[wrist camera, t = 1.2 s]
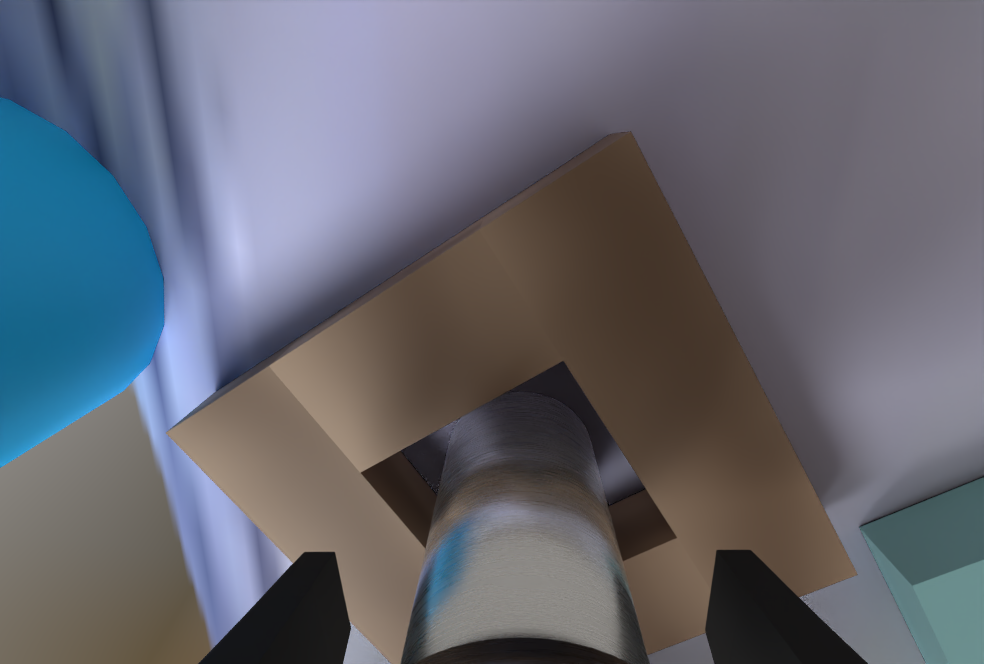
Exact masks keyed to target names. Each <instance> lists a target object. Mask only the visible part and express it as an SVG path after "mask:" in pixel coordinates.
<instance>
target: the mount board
mask: <svg viewBox="0 0 984 664" xmlns="http://www.w3.org/2000/svg"><path fill="white" fill-rule="evenodd" d="M562 361H564V363H565V364H566V366H567V367H568V369H569V370H570V372H571V373H572V375H573V376H574V378H575V380H576V381H577V383H578V384H579V386H580V387H581V389H582V390H583V392H584V394H585V395H586V397H587V398H588V400H589V401H590V403H591V404H592V406H593V408H594V409H595V411H596V412H597V414H598V415H599V417H600V418H601V420H602V422H603V423H604V425H605V426H606V428H607V429H608V431H609V432H610V434H611V436H612V437H613V439H614V440H615V442H616V443H617V445H618V446H619V448H620V450H621V451H622V453H623V454H624V456H625V457H626V459H627V460H628V462H629V463H630V465H631V467H632V468H633V470H634V471H635V473H636V474H637V476H638V477H639V479H640V481H641V482H642V484H643V485H644V487H645V488H646V489H645V490H643V491H641V492H639V493H636V494H634V495H632V496H630V497H628V498H626V499H624V500H621V501H619V502H617V503H615V504H613V505H611V506H609V507H608V508H609V511H610V515H611V519H612V523H613V527H614V530H615V534H616V538H617V542H618V546H619V550H620V553H621V557H622V561H623V565H624V569H625V572H626V576H627V580H628V584H629V588H630V592H631V595H632V599H633V603H634V607H635V611H636V614H637V618H638V622H639V626H640V630H641V634H642V637H643V641H644V645H645V649H646V653H647V655H649V654H652V653H654V652H657V651H659V650H662V649H665V648H667V647H670V646H673V645H675V644H678V643H680V642H683V641H686V640H688V639H691V638H693V637H696V636H699V635H701V634H704V633H706V632H705V626H706V619H707V612H708V605H709V598H710V592H711V585H712V578H713V571H714V564H715V557H716V550H751V551H752V552H753V553H755V554H756V555H757V556H758V557H759V558H760V559H761V560H762V561H763V562H764V563H765V564H766V565H767V566H768V567H769V568H770V569H771V570H772V571H773V572H774V573H775V574H776V575H777V576H778V577H779V578H780V579H781V580H782V581H783V582H784V583H785V584H786V585H787V586H788V587H789V588H790V589H791V590H792V591H793V592H794V593H795V594H796V595H797V596H798V597H801V596H803V595H806V594H809V593H811V592H814V591H816V590H819V589H822V588H824V587H827V586H830V585H832V584H835V583H837V582H840V581H843V580H845V579H848V578H850V577H853V576H856V575H858V574H857V572H856V570H855V568H854V567H853V565H852V563H851V561H850V559H849V557H848V555H847V553H846V551H845V549H844V547H843V545H842V543H841V541H840V539H839V537H838V535H837V533H836V531H835V529H834V527H833V525H832V524H831V522H830V520H829V518H828V516H827V514H826V512H825V510H824V508H823V506H822V504H821V502H820V500H819V498H818V496H817V494H816V492H815V490H814V488H813V486H812V484H811V482H810V481H809V479H808V477H807V475H806V473H805V471H804V469H803V467H802V465H801V463H800V461H799V459H798V457H797V455H796V453H795V451H794V449H793V447H792V445H791V443H790V441H789V439H788V438H787V436H786V434H785V432H784V430H783V428H782V426H781V424H780V422H779V420H778V418H777V416H776V414H775V412H774V410H773V408H772V406H771V404H770V402H769V400H768V398H767V396H766V395H765V393H764V391H763V389H762V387H761V385H760V383H759V381H758V379H757V377H756V375H755V373H754V371H753V369H752V367H751V365H750V363H749V361H748V359H747V357H746V355H745V353H744V352H743V350H742V348H741V346H740V344H739V342H738V340H737V338H736V336H735V334H734V332H733V330H732V328H731V326H730V324H729V322H728V320H727V318H726V316H725V314H724V312H723V310H722V308H721V307H720V305H719V303H718V301H717V299H716V297H715V295H714V293H713V291H712V289H711V287H710V285H709V283H708V281H707V279H706V277H705V275H704V273H703V271H702V269H701V267H700V265H699V264H698V262H697V260H696V258H695V256H694V254H693V252H692V250H691V248H690V246H689V244H688V242H687V240H686V238H685V236H684V234H683V232H682V230H681V228H680V226H679V224H678V222H677V221H676V219H675V217H674V215H673V213H672V211H671V209H670V207H669V205H668V203H667V201H666V199H665V197H664V195H663V193H662V191H661V189H660V187H659V185H658V183H657V181H656V179H655V178H654V176H653V174H652V172H651V170H650V168H649V166H648V164H647V162H646V160H645V158H644V156H643V154H642V152H641V150H640V148H639V146H638V144H637V142H636V140H635V138H634V136H633V135H632V133H631V131H630V132H622V133H614V134H610V135H608V136H606V137H605V138H603V139H602V140H600V141H599V142H597V143H596V144H594V145H593V146H591V147H590V148H588V149H587V150H585V151H584V152H582V153H580V154H579V155H577V156H576V157H574V158H573V159H571V160H570V161H568V162H567V163H565V164H564V165H562V166H561V167H559V168H558V169H556V170H554V171H553V172H551V173H550V174H548V175H547V176H545V177H544V178H542V179H541V180H539V181H538V182H536V183H535V184H533V185H532V186H530V187H528V188H527V189H525V190H524V191H522V192H521V193H519V194H518V195H516V196H515V197H513V198H512V199H510V200H509V201H507V202H505V203H504V204H502V205H501V206H499V207H498V208H496V209H495V210H493V211H492V212H490V213H489V214H487V215H486V216H484V217H483V218H481V219H479V220H478V221H476V222H475V223H473V224H472V225H470V226H469V227H467V228H466V229H464V230H463V231H461V232H460V233H458V234H457V235H455V236H453V237H452V238H450V239H449V240H447V241H446V242H444V243H443V244H441V245H440V246H438V247H437V248H435V249H434V250H432V251H431V252H429V253H427V254H426V255H424V256H423V257H421V258H420V259H418V260H417V261H415V262H414V263H412V264H411V265H409V266H408V267H406V268H404V269H403V270H401V271H400V272H398V273H397V274H395V275H394V276H392V277H391V278H389V279H388V280H386V281H385V282H383V283H382V284H380V285H378V286H377V287H375V288H374V289H372V290H371V291H369V292H368V293H366V294H365V295H363V296H362V297H360V298H359V299H357V300H356V301H354V302H352V303H351V304H349V305H348V306H346V307H345V308H343V309H342V310H340V311H339V312H337V313H336V314H334V315H333V316H331V317H330V318H328V319H326V320H325V321H323V322H322V323H320V324H319V325H317V326H316V327H314V328H313V329H311V330H310V331H308V332H307V333H305V334H303V335H302V336H300V337H299V338H297V339H296V340H294V341H293V342H291V343H290V344H288V345H287V346H285V347H284V348H282V349H281V350H279V351H277V352H276V353H274V354H273V355H271V356H270V357H268V358H267V359H265V360H264V361H262V362H261V363H259V364H258V365H256V366H255V367H253V368H251V369H250V370H248V371H247V372H245V373H244V374H242V375H241V376H239V377H238V378H236V379H235V380H233V381H232V382H230V383H229V384H227V385H225V386H224V387H222V388H221V389H219V390H218V391H216V392H215V393H213V394H212V395H211V396H210V397H209V398H207V399H206V400H205V401H204V402H203V403H201V404H200V405H199V406H198V407H196V408H195V409H194V410H193V411H192V412H190V413H189V414H188V415H187V416H186V417H184V418H183V419H182V420H181V421H179V422H178V423H177V424H176V425H175V426H173V427H172V428H171V429H170V430H169V431H167V432H166V434H167V435H168V436H169V437H170V438H171V439H172V440H173V441H174V442H175V443H176V444H177V445H178V446H179V447H180V448H181V449H182V450H183V451H184V452H185V453H186V454H187V455H188V456H189V457H190V458H191V459H192V460H193V461H194V462H195V463H196V464H197V465H198V466H199V467H200V468H201V470H202V471H203V472H204V473H205V474H206V475H207V476H208V477H209V478H210V479H211V480H212V481H213V482H214V483H215V484H216V485H217V486H218V487H219V488H220V489H221V490H222V491H223V492H224V493H225V494H226V495H227V496H228V497H229V498H230V499H231V500H232V501H233V502H234V503H235V504H236V505H237V506H238V507H239V508H240V509H241V510H242V511H243V512H244V513H245V514H246V516H247V517H248V518H249V519H250V520H251V521H252V522H253V523H254V524H255V525H256V526H257V527H258V528H259V529H260V530H261V531H262V532H263V533H264V534H265V535H266V536H267V537H268V538H269V539H270V540H271V541H272V542H273V543H274V544H275V545H276V546H277V547H278V548H279V549H280V550H281V551H282V552H283V553H284V554H285V555H286V556H287V557H288V558H289V559H290V560H291V562H292V563H294V562H295V561H296V560H297V559H298V558H299V557H300V556H301V555H302V554H303V553H304V552H335V554H336V559H337V564H338V569H339V573H340V578H341V583H342V588H343V592H344V597H345V602H346V607H347V612H348V616H349V621H350V622H351V623H352V624H353V625H354V626H355V627H356V628H357V629H358V630H359V631H360V632H361V633H362V634H363V635H364V636H365V637H366V638H367V639H368V640H369V641H370V642H371V643H372V644H373V645H374V646H375V647H376V648H377V649H378V650H379V651H380V652H381V654H382V655H383V656H384V657H385V658H386V659H387V660H388V661H389V662H390V663H391V664H400V663H401V658H402V654H403V649H404V645H405V640H406V636H407V631H408V626H409V622H410V617H411V613H412V608H413V604H414V599H415V595H416V590H417V585H418V581H419V576H420V572H421V567H422V563H423V558H424V554H425V549H426V544H427V540H428V535H429V531H430V526H431V522H432V517H433V513H434V508H435V503H436V499H437V495H436V494H435V493H434V492H433V490H432V489H431V488H430V487H429V485H428V484H427V483H426V482H425V481H424V479H423V478H422V477H421V476H420V474H419V473H418V472H417V471H416V469H415V468H414V467H413V466H412V465H411V463H410V462H409V461H408V460H407V458H406V457H405V456H404V455H403V453H402V452H401V450H402V449H404V448H406V447H408V446H410V445H412V444H413V443H415V442H417V441H419V440H421V439H422V438H424V437H426V436H428V435H430V434H431V433H433V432H435V431H437V430H439V429H441V428H442V427H444V426H446V425H448V424H450V423H451V422H453V421H455V420H457V419H459V418H460V417H462V416H464V415H466V414H468V413H470V412H471V411H473V410H475V409H477V408H479V407H480V406H482V405H484V404H486V403H488V402H489V401H491V400H493V399H495V398H497V397H499V396H500V395H502V394H504V393H506V392H508V391H509V390H511V389H513V388H515V387H517V386H518V385H520V384H522V383H524V382H526V381H528V380H529V379H531V378H533V377H535V376H537V375H538V374H540V373H542V372H544V371H546V370H547V369H549V368H551V367H553V366H555V365H557V364H558V363H560V362H562Z"/></svg>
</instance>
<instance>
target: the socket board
mask: <svg viewBox="0 0 984 664" xmlns="http://www.w3.org/2000/svg"><path fill="white" fill-rule="evenodd" d="M859 528H860V530H861V532H862V534H863V536H864V538H865V540H866V542H867V544H868V546H869V548H870V550H871V552H872V554H873V556H874V558H875V561H876V563H877V565H878V567H879V569H880V571H881V573H882V575H883V577H884V579H885V581H886V583H887V585H888V587H889V589H890V591H891V593H892V595H893V597H894V599H895V601H896V603H897V605H898V607H899V609H900V611H901V613H902V616H903V618H904V620H905V622H906V624H907V626H908V628H909V630H910V632H911V634H912V636H913V638H914V640H915V642H916V644H917V646H918V648H919V650H920V652H921V654H922V656H923V658H924V660H925V662H926V664H984V477H983V478H980V479H978V480H975V481H973V482H970V483H968V484H965V485H963V486H960V487H958V488H955V489H953V490H951V491H948V492H946V493H943V494H941V495H938V496H936V497H933V498H931V499H928V500H926V501H923V502H921V503H918V504H916V505H913V506H911V507H908V508H906V509H903V510H901V511H898V512H896V513H894V514H891V515H889V516H886V517H884V518H881V519H879V520H876V521H874V522H871V523H869V524H866V525H864V526H861V527H859Z"/></svg>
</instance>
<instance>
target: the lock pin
mask: <svg viewBox="0 0 984 664" xmlns="http://www.w3.org/2000/svg"><path fill="white" fill-rule="evenodd" d="M400 664H649V660H648V656H647V653H646V649H645V645H644V641H643V637H642V634H641V630H640V626H639V622H638V618H637V614H636V611H635V607H634V603H633V599H632V595H631V592H630V588H629V584H628V580H627V576H626V572H625V569H624V565H623V561H622V557H621V553H620V550H619V546H618V542H617V538H616V534H615V530H614V527H613V523H612V519H611V515H610V511H609V508H608V504H607V500H606V496H605V492H604V488H603V485H602V481H601V477H600V473H599V469H598V466H597V462H596V458H595V454H594V450H593V446H592V443H591V439H590V436H589V433H588V431H587V429H586V427H585V425H584V424H583V422H582V421H581V420H580V418H579V417H578V416H577V415H576V414H575V413H574V412H573V411H572V410H571V409H570V408H568V407H567V406H566V405H564V404H563V403H561V402H559V401H557V400H555V399H553V398H551V397H548V396H545V395H542V394H538V393H532V392H507V393H504V394H502V395H500V396H499V397H497V398H495V399H493V400H491V401H489V402H488V403H486V404H484V405H482V406H480V407H479V408H477V409H475V410H473V411H471V412H470V413H468V414H466V415H464V416H462V417H461V418H460V419H459V421H458V422H457V424H456V425H455V427H454V429H453V431H452V433H451V437H450V440H449V444H448V449H447V453H446V458H445V462H444V467H443V472H442V476H441V481H440V485H439V490H438V494H437V499H436V503H435V508H434V513H433V517H432V522H431V526H430V531H429V535H428V540H427V544H426V549H425V554H424V558H423V563H422V567H421V572H420V576H419V581H418V585H417V590H416V595H415V599H414V604H413V608H412V613H411V617H410V622H409V626H408V631H407V636H406V640H405V645H404V649H403V654H402V658H401V663H400Z"/></svg>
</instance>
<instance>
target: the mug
mask: <svg viewBox="0 0 984 664" xmlns="http://www.w3.org/2000/svg"><path fill="white" fill-rule="evenodd" d="M163 327H164V278H163V275H162V272H161V269H160V266H159V263H158V260H157V257H156V254H155V251H154V248H153V245H152V242H151V239H150V236H149V233H148V230H147V227H146V225H145V224H144V222H143V221H142V219H141V218H140V216H139V215H138V213H137V211H136V210H135V208H134V207H133V205H132V204H131V202H130V201H129V199H128V198H127V196H126V195H125V193H124V192H123V190H122V188H121V187H120V185H119V184H118V182H117V181H116V179H115V178H114V176H113V175H112V174H111V173H110V172H109V171H108V170H107V169H105V168H104V167H103V166H102V165H101V164H100V163H99V162H98V161H97V160H96V159H95V158H94V157H93V156H92V155H91V154H89V153H88V152H87V151H86V150H85V149H84V148H83V147H82V146H81V145H80V144H79V143H78V142H77V141H76V140H75V139H74V138H72V137H71V136H70V135H69V134H68V133H67V132H66V131H64V130H63V129H61V128H59V127H57V126H56V125H54V124H52V123H50V122H48V121H47V120H45V119H43V118H41V117H40V116H38V115H36V114H34V113H32V112H31V111H29V110H27V109H25V108H23V107H22V106H20V105H18V104H16V103H15V102H13V101H11V100H9V99H5V98H1V97H0V468H1V467H2V466H4V465H6V464H7V463H9V462H10V461H12V460H14V459H15V458H17V457H18V456H20V455H22V454H23V453H25V452H26V451H28V450H30V449H31V448H33V447H34V446H36V445H37V444H39V443H41V442H42V441H44V440H46V439H47V438H49V437H50V436H52V435H53V434H55V433H57V432H58V431H60V430H62V429H63V428H65V427H66V426H68V425H69V424H71V423H72V422H74V421H76V420H77V419H79V418H81V417H82V416H84V415H85V414H87V413H89V412H90V411H92V410H94V409H95V408H96V407H98V406H100V405H101V404H103V403H105V402H106V401H108V400H110V399H111V398H113V397H114V396H116V395H118V394H119V393H121V392H122V391H124V390H125V389H126V388H127V387H128V386H129V385H130V384H131V383H132V381H133V380H134V379H135V378H136V377H137V376H138V375H139V374H140V373H141V372H142V371H143V370H144V369H145V368H146V367H147V366H148V365H149V364H150V362H151V359H152V357H153V354H154V351H155V349H156V346H157V343H158V340H159V338H160V335H161V332H162V330H163Z"/></svg>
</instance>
